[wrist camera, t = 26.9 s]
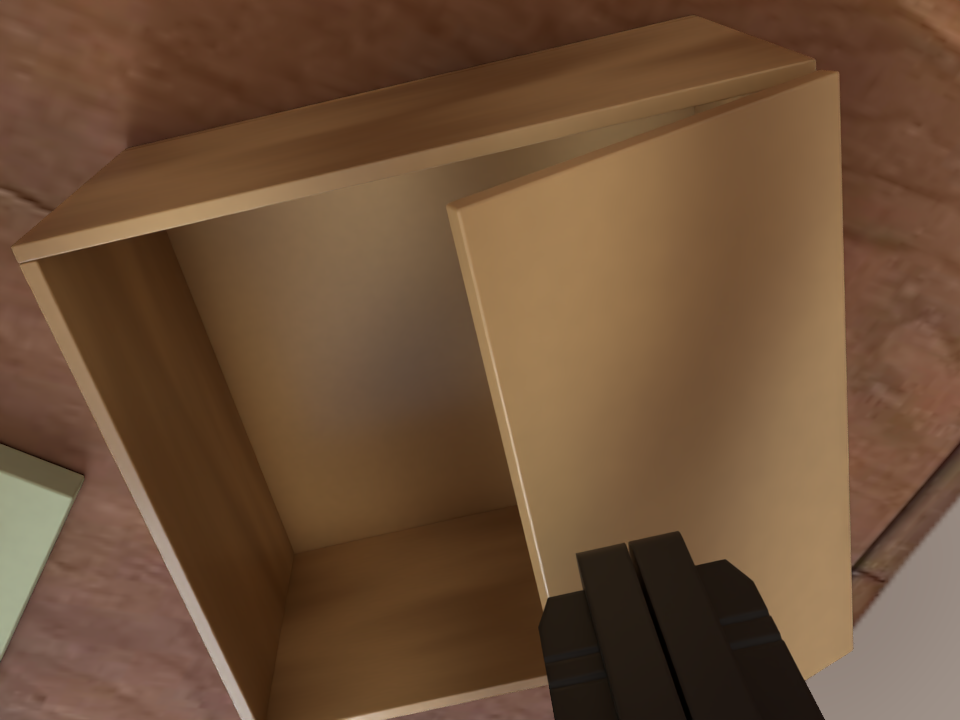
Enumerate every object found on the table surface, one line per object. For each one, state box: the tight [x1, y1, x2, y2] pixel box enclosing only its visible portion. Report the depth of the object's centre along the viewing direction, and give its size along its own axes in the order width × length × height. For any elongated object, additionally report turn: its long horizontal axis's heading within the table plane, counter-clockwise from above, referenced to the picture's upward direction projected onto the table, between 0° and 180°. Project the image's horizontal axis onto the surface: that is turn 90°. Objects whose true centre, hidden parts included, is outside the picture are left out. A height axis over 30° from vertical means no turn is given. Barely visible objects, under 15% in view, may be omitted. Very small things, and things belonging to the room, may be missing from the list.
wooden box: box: [11, 15, 816, 720], centre depth 19 cm, size 13×12×6 cm
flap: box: [446, 70, 853, 680], centre depth 14 cm, size 6×12×1 cm, turn 12°
